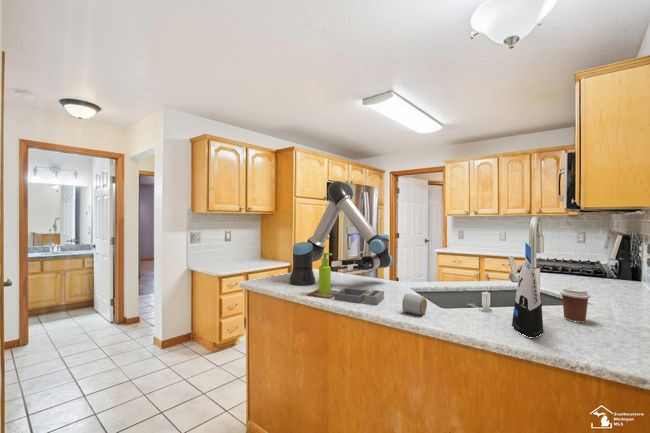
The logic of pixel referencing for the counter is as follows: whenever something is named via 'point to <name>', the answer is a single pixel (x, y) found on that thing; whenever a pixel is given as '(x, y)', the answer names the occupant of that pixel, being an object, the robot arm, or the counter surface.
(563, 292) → the coffee cup
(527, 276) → the protein powder
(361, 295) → the tray
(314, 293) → the walnut pad
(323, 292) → the soap dispenser
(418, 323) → the counter surface
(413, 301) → the ceramic mug
